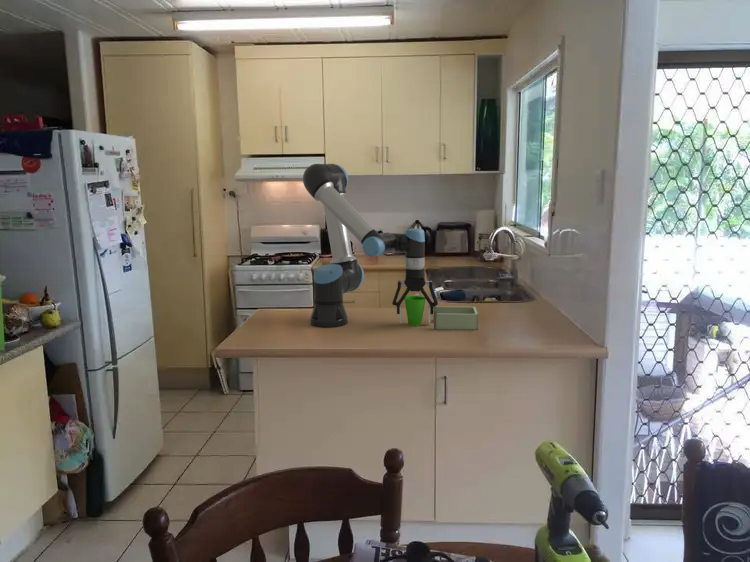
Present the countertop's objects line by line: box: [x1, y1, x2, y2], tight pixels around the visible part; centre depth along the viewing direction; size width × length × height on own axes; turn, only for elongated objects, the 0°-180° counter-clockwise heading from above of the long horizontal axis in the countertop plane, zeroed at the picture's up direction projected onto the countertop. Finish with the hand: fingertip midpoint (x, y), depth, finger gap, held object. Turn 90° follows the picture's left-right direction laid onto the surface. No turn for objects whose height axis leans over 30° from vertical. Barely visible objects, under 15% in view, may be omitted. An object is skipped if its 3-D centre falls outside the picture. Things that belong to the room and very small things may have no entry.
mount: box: [432, 305, 479, 331], centre depth 235 cm, size 17×14×7 cm
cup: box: [404, 295, 426, 327], centre depth 236 cm, size 9×9×11 cm
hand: (414, 322), depth 237 cm, fingers open, 11 cm apart
